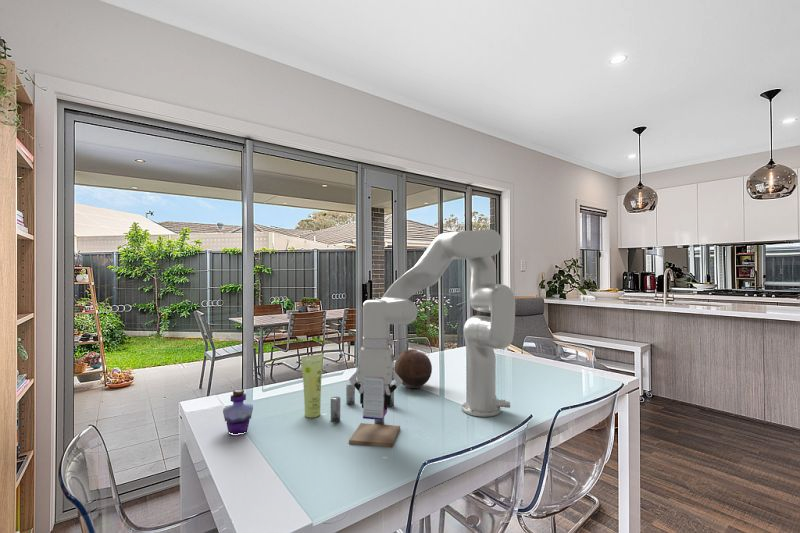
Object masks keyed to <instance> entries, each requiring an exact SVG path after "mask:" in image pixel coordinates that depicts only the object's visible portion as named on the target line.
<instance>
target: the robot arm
mask: <svg viewBox="0 0 800 533" xmlns="http://www.w3.org/2000/svg"><path fill="white" fill-rule="evenodd" d="M502 245H503V240H502V237H501V235H500V233H499V232H497V231H496V230H494V229H488V228H487V229H476V230H458V231H449V232H443V233H440V234H438V235H437V236H436V237H435V238H434V239H433V240H432V242H431V243H430V245H428V247H427V248H426V250H424V253H423V254H422V255H421V257H420V258H419V259H418V261H417V262H416V263H415V264H414V266H413V267H412V268H410V269H409V270H407V271H406V272H405V273H404V274H402V275H401V276H399V278H398V279H396V280H395V281H394V282H393V283H392V284H391V285H390V286H389V287H388V289H387V290H386V292H384V294H383V295H382V297H381V298H380V299H367V300H365V301H364V302H363V303H362V346H361V347H360V348H359V353H358V360H357V361H358V362H357V370H356V371H355V372H354V373H353V374H352V375H351V377H349V379H348V380H349V382H351V383H352V384H353V385H354V386H355V390H357V391H358V393H359V395H360V396H359V402H360V404H361V409H363V399H364V377H372V378H384V385H385V391H386V394H385V396H384V409H385V410H387V411H388V408H390V407H389V406H390V405H391V393H392V392H393V391H394V392H395V390H396V389H397V388H398V387H399V386H401V385H402V382H403V381H402V379H401V378H400V377H399V376H398V375H397V374H396V373H395V370H394V367H395V360H394V353H393V352H394V351H393V347H390V346H394V344H395V340H394V339H391V337H390V325H398V326H406V325H410V324H412V323H413V322H414V321H415V320H416V319H417V317H418V314H419V312H418V311H419V310H418V307H417V305H416V304H415V303H414V302H413V301H412V300H410V298H411V297H412V296H414V294H416V293H419V292H420V291H423V290H425V289H427V288H429V287H432V286H433V285H435V284H436V283H438V282H439V280H440V278H441V277H442V276H443V274H444V272H445V271H446V270H447V268H448V267H449V265H450V264H451V263H452V262H453V260H466V262H467V264H468V266H469V269H470V279H469V281H470V282H469V284H470V285H469V305H470V306H471V308H472V309H473V310H475V311H478V312H483V313H489V314H490V316H486V315H472V316H470V317H469V318H467V320H466V321H465V322H464V324H463V338H464V341H465V348H466V349H465V350H466V352H465V353H466V401H465V402H464V403H462V405H461V410H462V412H464V413H465V414H468V415H470V416H474V417H481V418H482V417H484V418H486V417H487V418H488V417H494V416H497V415H499V414H500V413H501V408H505V409H506V408H507V409H509V408H511V401H506V399H499V398H497V394H496V389H497V388H496V354H495V350H494V349H499V350H504V349H507V348H508V347H509V346H510V345H512V342H513V340H514V337H515V326H516V325H515V322H516V298H515V297H516V296H515V294H514V292H513V289H511V288H510V287H509V286H507V285H506V284H502V283H497V268H496V263H495V261H494V259H493V256H495V255H497V254H499V253H500V251H501V248H502ZM393 381H395V383H394V384H392V383H393ZM390 384H391V385H392V386H391V385H390Z"/></svg>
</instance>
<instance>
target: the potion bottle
mask: <svg viewBox="0 0 800 533" xmlns="http://www.w3.org/2000/svg"><path fill="white" fill-rule="evenodd" d="M244 392H245V390H244V389H235V390H233V391H232V394H231V395H230V402H232V404H231V405H227V406H226V407H224V408H223V411H222V413H223V418H224V422H226V429H227V431H228V433H229V432H230V433H233V434H238V433H244V432H247V430H248V431H249V425H250V421H251V419H252V415H253V410H254V404H251V403H246V402H245V401H246V400H247V394H246V393H244ZM247 433H248V432H247Z"/></svg>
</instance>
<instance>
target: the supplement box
mask: <svg viewBox="0 0 800 533" xmlns="http://www.w3.org/2000/svg"><path fill="white" fill-rule="evenodd" d="M385 394H386V391H385V385H384V378H372V377H364V399H363V408H362V410H363V411H362V419H363V420H365V419H366V420H374V419H375V420H382V419H383V417H384V418H385V416H386V415H387V413H388V409H387V410H385V409H384V396H385Z"/></svg>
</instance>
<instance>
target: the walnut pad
mask: <svg viewBox="0 0 800 533" xmlns="http://www.w3.org/2000/svg"><path fill="white" fill-rule="evenodd" d="M400 431H401V425H393V424H392V425H391V424H384V425H381V424H374V423H366V422H365V423H364V422H361V423H360V424H359V425H358V427H357V428H356V430H355V431H354V432H353V434H352V435H351V436H350V438H349V439H348V444H349V445H360V446H370V447H371V446H372V447H374V446H375V447H386V448H393V447H394V445H395V442H396V440H397V438H398V435H399V433H400Z"/></svg>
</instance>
